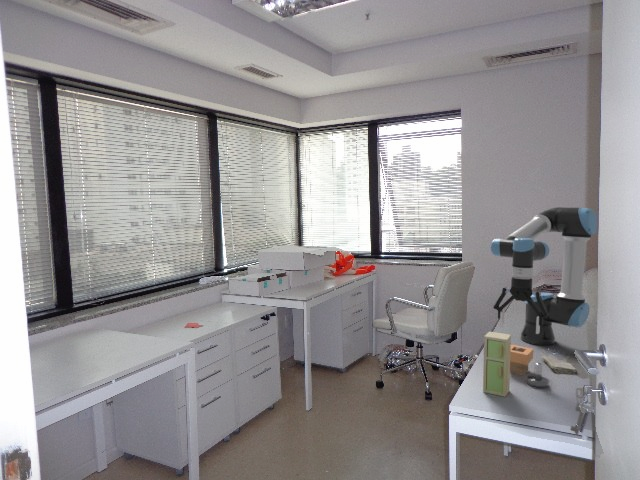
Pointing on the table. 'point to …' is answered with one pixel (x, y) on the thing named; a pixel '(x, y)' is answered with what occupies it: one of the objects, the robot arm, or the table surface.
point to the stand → (518, 366)
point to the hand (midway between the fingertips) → (519, 329)
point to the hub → (537, 378)
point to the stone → (559, 365)
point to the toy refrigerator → (496, 363)
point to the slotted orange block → (521, 355)
